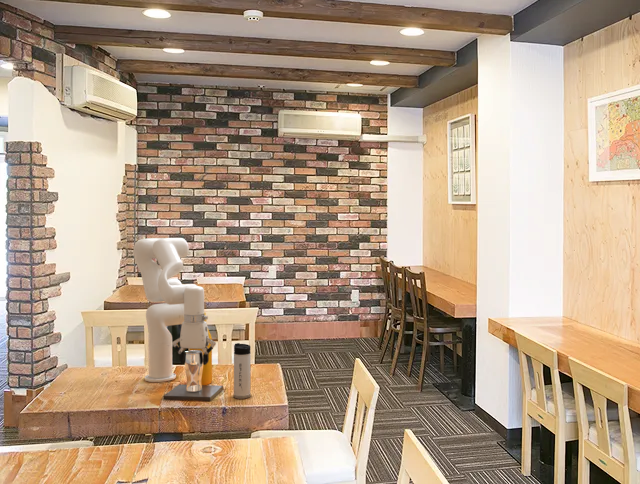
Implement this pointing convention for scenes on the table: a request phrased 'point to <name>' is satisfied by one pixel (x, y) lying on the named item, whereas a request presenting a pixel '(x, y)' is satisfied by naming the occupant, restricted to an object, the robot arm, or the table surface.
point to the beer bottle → (207, 368)
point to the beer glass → (194, 370)
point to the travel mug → (242, 371)
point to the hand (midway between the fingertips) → (194, 363)
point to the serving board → (204, 395)
